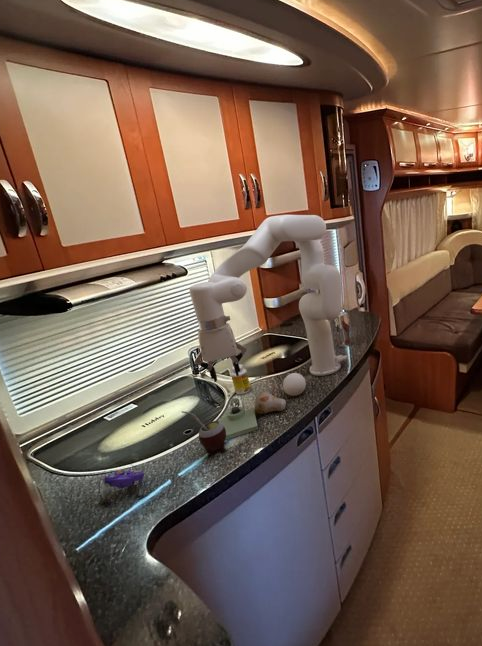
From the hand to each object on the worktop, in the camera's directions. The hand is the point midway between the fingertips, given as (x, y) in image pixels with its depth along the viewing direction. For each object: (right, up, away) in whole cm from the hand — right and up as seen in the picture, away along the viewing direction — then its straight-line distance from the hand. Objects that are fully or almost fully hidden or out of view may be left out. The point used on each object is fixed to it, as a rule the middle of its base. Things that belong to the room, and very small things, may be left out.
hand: (226, 376), depth 117 cm
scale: (+3, -16, +1) cm, 16 cm away
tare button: (+2, -12, +4) cm, 13 cm away
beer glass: (+33, +5, +56) cm, 65 cm away
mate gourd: (+1, -20, -10) cm, 22 cm away
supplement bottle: (-3, -10, +23) cm, 26 cm away
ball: (+19, -9, +16) cm, 26 cm away
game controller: (-16, -26, -23) cm, 38 cm away
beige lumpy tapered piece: (+13, -13, +7) cm, 19 cm away
